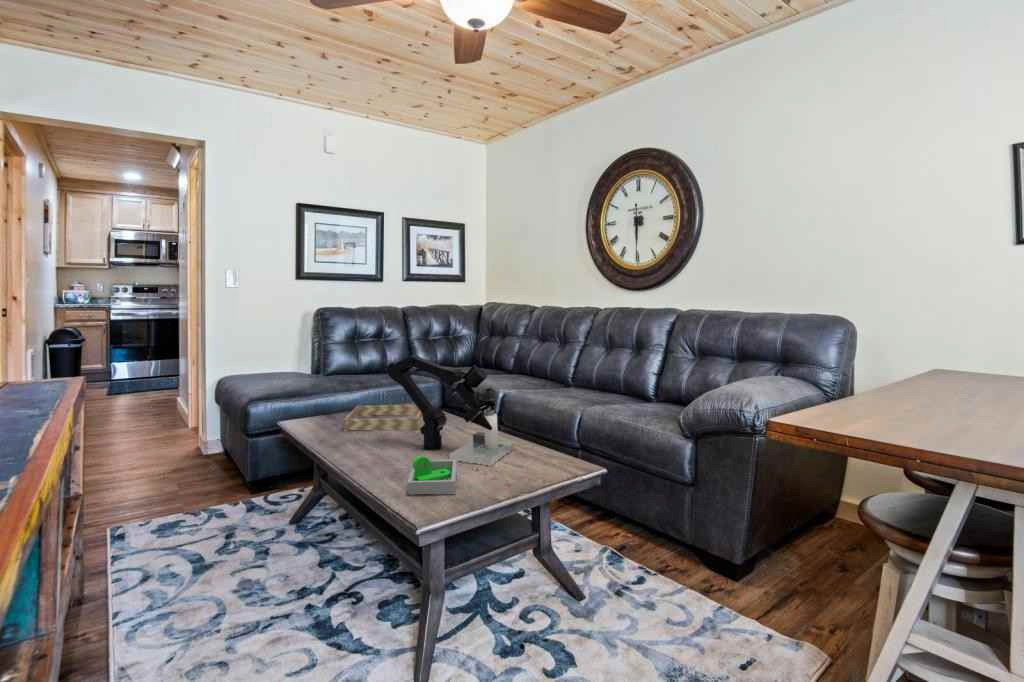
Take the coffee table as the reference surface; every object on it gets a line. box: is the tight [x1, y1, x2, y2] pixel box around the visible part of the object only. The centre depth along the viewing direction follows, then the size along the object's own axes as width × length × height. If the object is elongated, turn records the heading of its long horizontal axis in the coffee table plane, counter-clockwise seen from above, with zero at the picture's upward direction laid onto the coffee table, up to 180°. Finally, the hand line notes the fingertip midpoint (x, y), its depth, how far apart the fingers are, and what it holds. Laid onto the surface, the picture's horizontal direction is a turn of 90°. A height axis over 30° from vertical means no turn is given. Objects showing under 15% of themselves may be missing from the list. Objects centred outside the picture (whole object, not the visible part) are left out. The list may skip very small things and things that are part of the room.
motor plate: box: [449, 431, 515, 467], centre depth 201 cm, size 16×22×6 cm
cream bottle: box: [483, 410, 499, 450], centre depth 199 cm, size 5×5×14 cm
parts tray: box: [406, 459, 458, 495], centre depth 172 cm, size 14×20×4 cm
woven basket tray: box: [343, 404, 423, 431], centre depth 248 cm, size 32×28×5 cm
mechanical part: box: [412, 455, 452, 481], centre depth 175 cm, size 12×6×8 cm, turn 124°
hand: (495, 427), depth 198 cm, fingers open, 7 cm apart
